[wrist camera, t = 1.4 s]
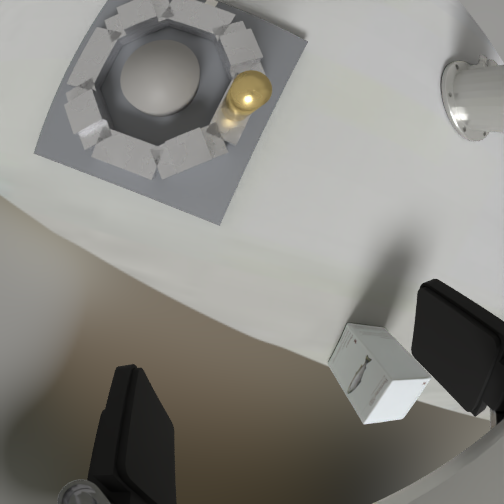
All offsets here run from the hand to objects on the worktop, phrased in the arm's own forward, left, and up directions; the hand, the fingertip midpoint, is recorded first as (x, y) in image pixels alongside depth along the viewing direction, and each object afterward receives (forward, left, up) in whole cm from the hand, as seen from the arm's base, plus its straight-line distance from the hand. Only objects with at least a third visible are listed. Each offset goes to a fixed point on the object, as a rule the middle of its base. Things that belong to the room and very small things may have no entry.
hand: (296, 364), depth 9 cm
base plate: (-10, -11, -24) cm, 29 cm away
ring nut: (-10, -11, -23) cm, 27 cm away
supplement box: (+10, +25, -25) cm, 36 cm away
